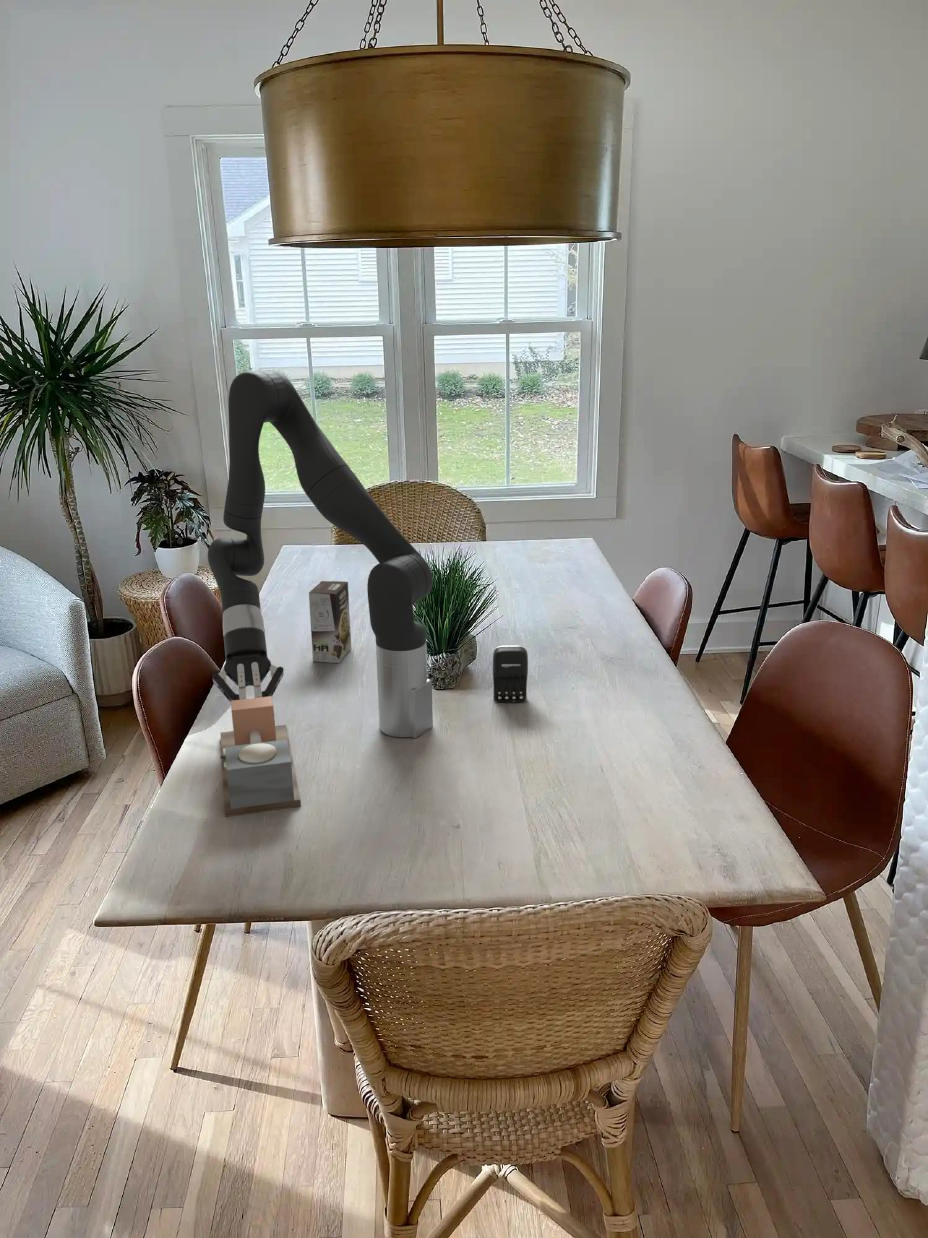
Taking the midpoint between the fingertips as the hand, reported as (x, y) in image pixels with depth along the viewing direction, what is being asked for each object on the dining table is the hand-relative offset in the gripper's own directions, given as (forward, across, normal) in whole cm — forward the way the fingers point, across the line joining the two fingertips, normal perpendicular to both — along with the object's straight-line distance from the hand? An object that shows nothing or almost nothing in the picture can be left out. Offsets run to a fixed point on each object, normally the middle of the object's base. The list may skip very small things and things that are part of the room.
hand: (253, 721), depth 175 cm
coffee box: (-25, +19, +33) cm, 45 cm away
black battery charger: (-1, +50, +9) cm, 51 cm away
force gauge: (+10, 0, -2) cm, 10 cm away
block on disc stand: (+8, -1, -3) cm, 9 cm away
